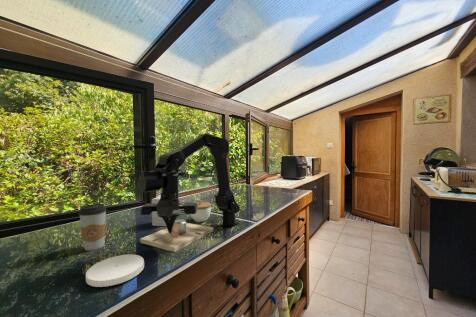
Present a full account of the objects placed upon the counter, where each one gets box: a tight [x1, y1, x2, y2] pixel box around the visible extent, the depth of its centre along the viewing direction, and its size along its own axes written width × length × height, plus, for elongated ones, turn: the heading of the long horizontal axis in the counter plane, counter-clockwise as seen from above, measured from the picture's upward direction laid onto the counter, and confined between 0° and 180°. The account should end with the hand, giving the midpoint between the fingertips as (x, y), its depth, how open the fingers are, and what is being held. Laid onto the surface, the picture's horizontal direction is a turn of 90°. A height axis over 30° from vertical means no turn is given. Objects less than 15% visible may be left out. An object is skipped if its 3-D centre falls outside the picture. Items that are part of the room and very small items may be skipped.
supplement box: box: [151, 195, 167, 227], centre depth 103 cm, size 7×7×13 cm
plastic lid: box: [85, 253, 145, 288], centre depth 60 cm, size 14×14×2 cm
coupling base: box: [139, 222, 214, 253], centre depth 86 cm, size 22×18×2 cm
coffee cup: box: [78, 203, 107, 252], centre depth 78 cm, size 8×8×15 cm
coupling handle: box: [171, 218, 187, 238], centre depth 82 cm, size 15×6×4 cm, turn 9°
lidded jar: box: [189, 200, 212, 223], centre depth 108 cm, size 11×11×9 cm
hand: (170, 232), depth 76 cm, fingers closed
